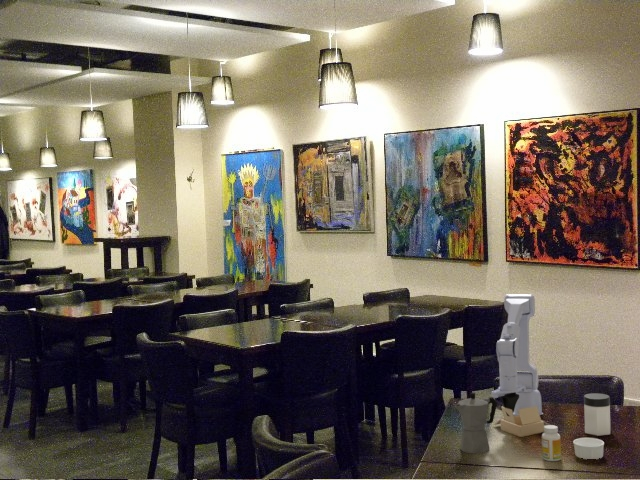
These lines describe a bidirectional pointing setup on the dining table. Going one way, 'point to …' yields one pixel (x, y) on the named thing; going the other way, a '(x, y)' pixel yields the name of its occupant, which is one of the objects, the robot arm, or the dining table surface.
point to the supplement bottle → (551, 443)
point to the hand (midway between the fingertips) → (509, 415)
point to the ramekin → (588, 448)
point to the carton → (522, 427)
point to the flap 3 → (529, 415)
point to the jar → (597, 414)
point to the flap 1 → (509, 412)
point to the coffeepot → (475, 423)
